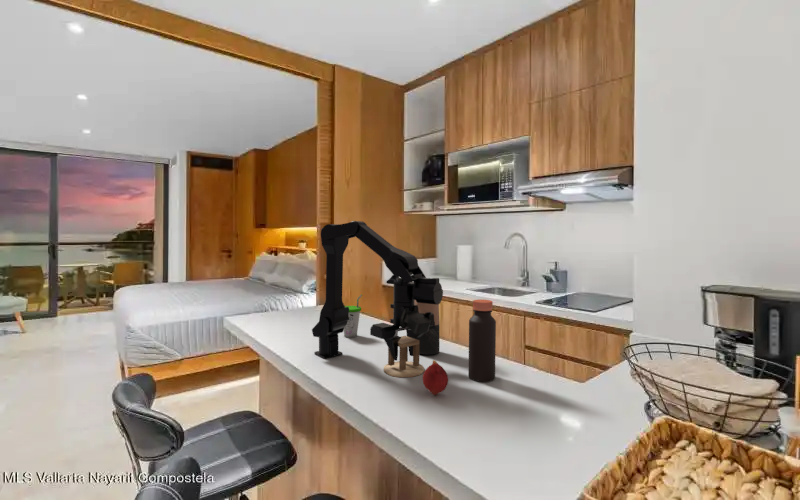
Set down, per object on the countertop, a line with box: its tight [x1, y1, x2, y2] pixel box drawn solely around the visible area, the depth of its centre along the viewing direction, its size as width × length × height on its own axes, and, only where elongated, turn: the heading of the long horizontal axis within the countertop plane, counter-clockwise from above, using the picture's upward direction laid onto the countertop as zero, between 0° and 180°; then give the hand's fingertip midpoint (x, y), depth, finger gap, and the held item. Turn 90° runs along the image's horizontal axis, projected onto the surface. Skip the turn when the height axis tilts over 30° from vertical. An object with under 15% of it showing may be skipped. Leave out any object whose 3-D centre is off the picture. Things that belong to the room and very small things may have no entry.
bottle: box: [467, 299, 497, 383], centre depth 101 cm, size 7×7×20 cm
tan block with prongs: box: [387, 335, 420, 371], centre depth 107 cm, size 6×6×7 cm
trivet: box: [383, 360, 425, 378], centre depth 107 cm, size 11×11×1 cm
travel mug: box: [415, 300, 440, 355], centre depth 123 cm, size 8×8×20 cm
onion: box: [422, 359, 449, 396], centre depth 90 cm, size 6×6×8 cm
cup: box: [343, 294, 363, 339], centre depth 141 cm, size 8×8×15 cm
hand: (403, 357), depth 107 cm, fingers closed on tan block with prongs, 5 cm apart
